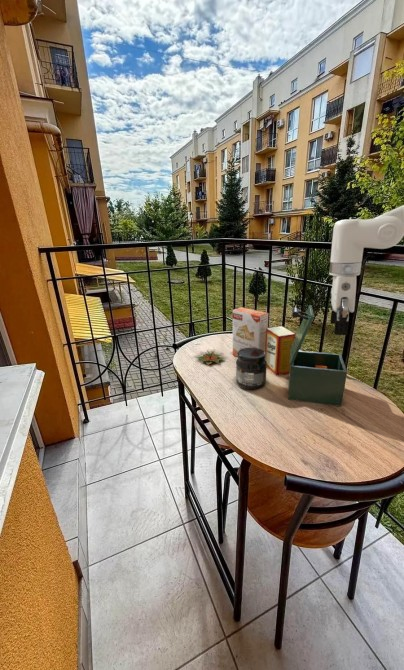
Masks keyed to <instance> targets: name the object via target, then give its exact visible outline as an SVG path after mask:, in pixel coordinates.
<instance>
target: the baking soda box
mask: <svg viewBox="0 0 404 670" xmlns="http://www.w3.org/2000/svg"><path fill="white" fill-rule="evenodd" d="M295 336H296V333H295V332H293V331H291V330H289V329H288V328H286V327H284V326H283V325H280V326H273V327H268V328H266V345H265V353H266V359H265V360H266V361H267V366H266V369H268V370H269V371H271V373H273V374H274V375H275V376H276V377H277V376H282V375H283V376H284V375H288V374H289V371H290V365H289V364H290V348H291V346H292V343H293V341H294V339H295Z"/></svg>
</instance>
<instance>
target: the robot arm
mask: <svg viewBox="0 0 404 670" xmlns="http://www.w3.org/2000/svg"><path fill="white" fill-rule="evenodd" d="M403 238H404V204H403V205H400V206H398V207H396V208H394V209H391V210H389V211H387V212H385V213H383V214H381V215H378V216H376V217H374V218H367V219H364V218H363V219H362V218H351V219H341V220H338V221H336V222H335V223H334V225H333V230H332V241H331V250H330V251H331V252H330V260H329V261H330V262H329V273H328V275H329V276H333V277H332V286H331V296H330V297H331V301H330V302H331V303H330V304H331V307H332V308H331V314H330V320H329V321H330V324H331V325H334V327H333V328H334V331H333V334H334V335H335V336H347V335H348V329H349V324H350V322H349V319H350V316H349V315H350V314H349V313H351V314H353V313H354V312H355V306H356V294H357V276H360V275H361V270H362V263H363V256H364V249H365V248H366V249H376V250H377V249H378V250H385V249H390V248H392V247H395V246H396V245H397V244H399V243H400V242H401V241H402V240H403Z"/></svg>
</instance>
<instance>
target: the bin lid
mask: <svg viewBox="0 0 404 670" xmlns="http://www.w3.org/2000/svg"><path fill="white" fill-rule="evenodd" d="M291 312H292V313H291V315H292V318H295V319H297V318H300V319H302V321H301V323H300V325H299V328H298V329H297V332H296V333H295V339H294V341H293V343H292V346H291V348H290V364H289V365H292V364H293V362H294V360H295V358H296V356H297V353H298V351H300V349H301V347H302V345H303V343H304V340H305V338H306V336H307V334H308V332H309V330H310V327H311V325H312V324H313V320H314V318H315V314H314V309H313V305H311V304H309V305H308V306H307V309H306V312H304V311H301V310H299V308H298V307H293V308H292V311H291Z"/></svg>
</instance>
